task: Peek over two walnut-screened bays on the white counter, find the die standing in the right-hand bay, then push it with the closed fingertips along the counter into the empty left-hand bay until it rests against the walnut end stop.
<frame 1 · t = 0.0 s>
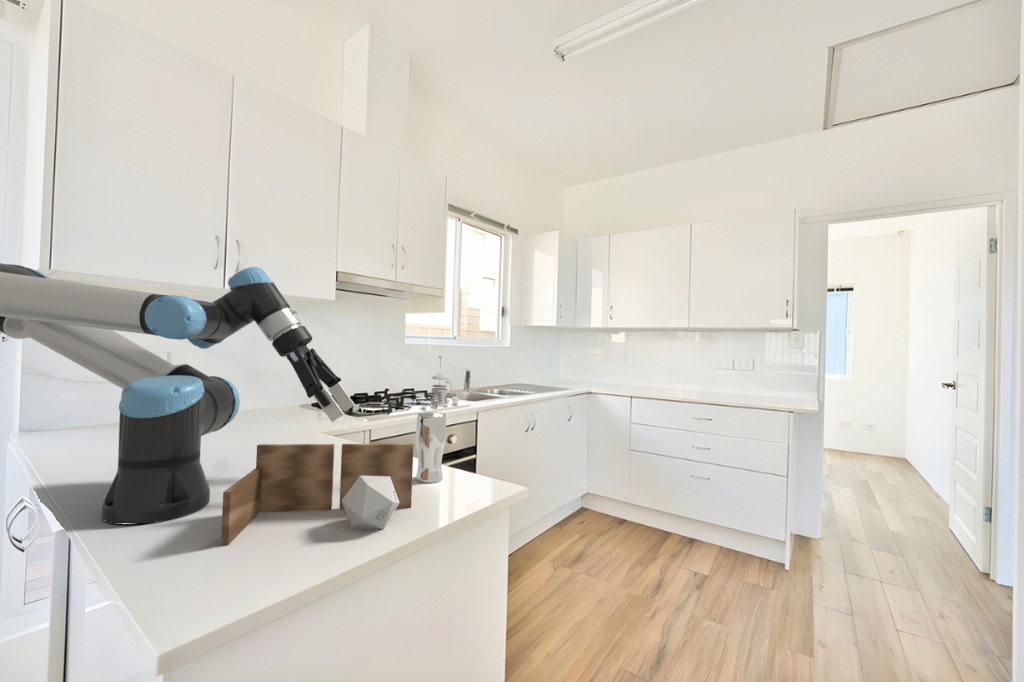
hand: (344, 413, 98), 15 cm above the counter, tool tilted 35°, fingers open, 13 cm apart
french press: (440, 405, 224), on the counter
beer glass: (429, 480, 102), on the counter
die: (370, 526, 76), on the counter
bay A: (293, 510, 81), on the counter
bay B: (376, 507, 84), on the counter
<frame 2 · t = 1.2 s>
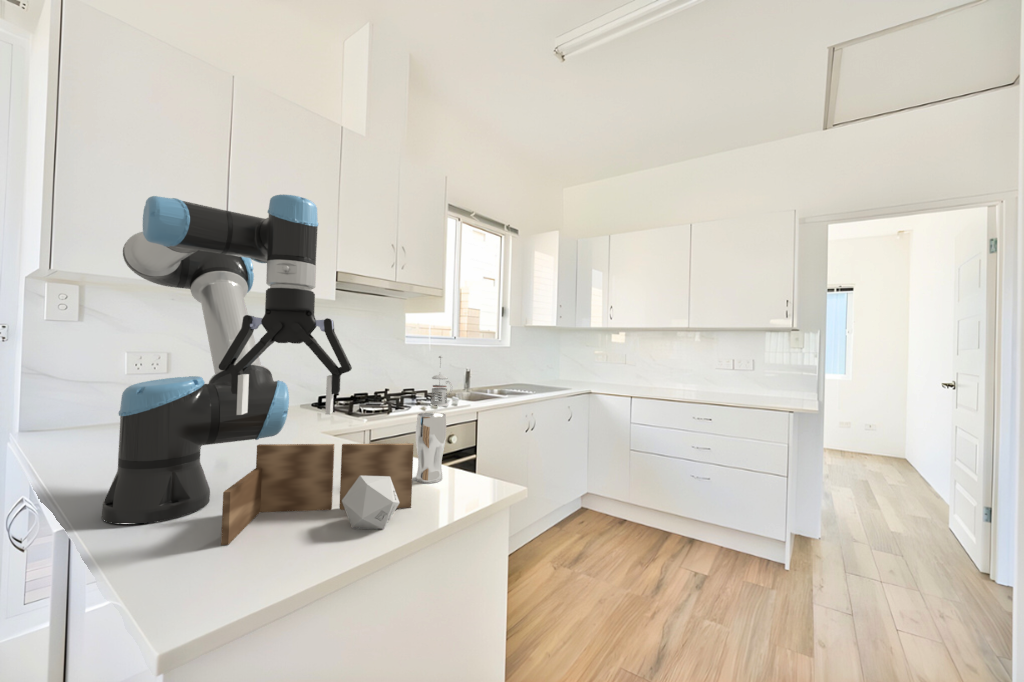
hand: (286, 413, 75), 19 cm above the counter, tool pointing down, fingers open, 13 cm apart
nothing on the counter moved.
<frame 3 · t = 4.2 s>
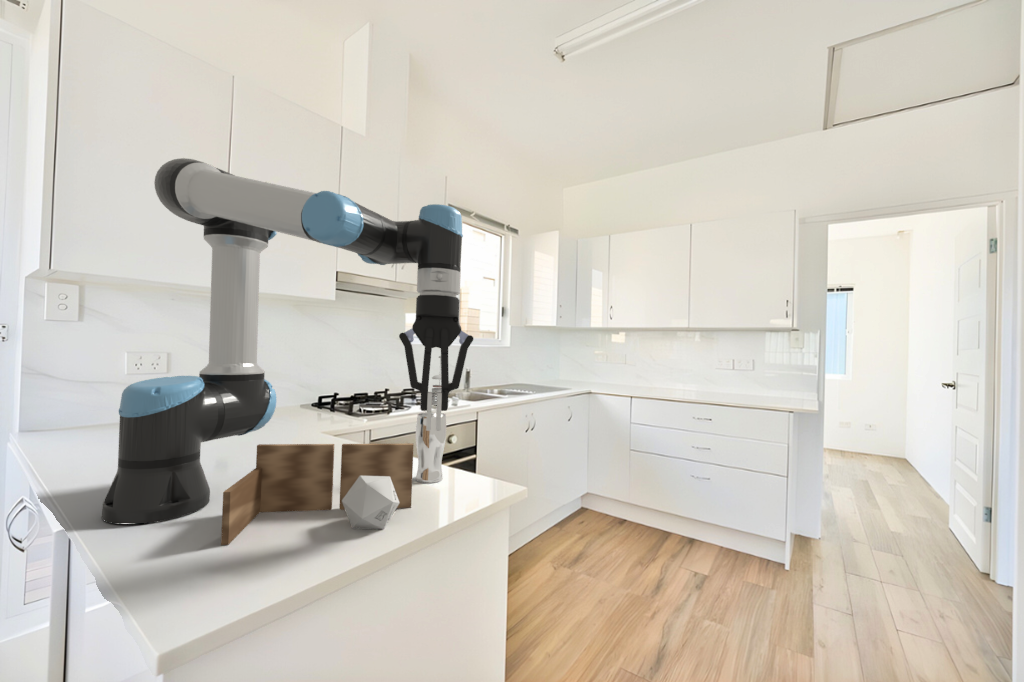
hand: (433, 429, 78), 16 cm above the counter, tool pointing down, fingers closed
nothing on the counter moved.
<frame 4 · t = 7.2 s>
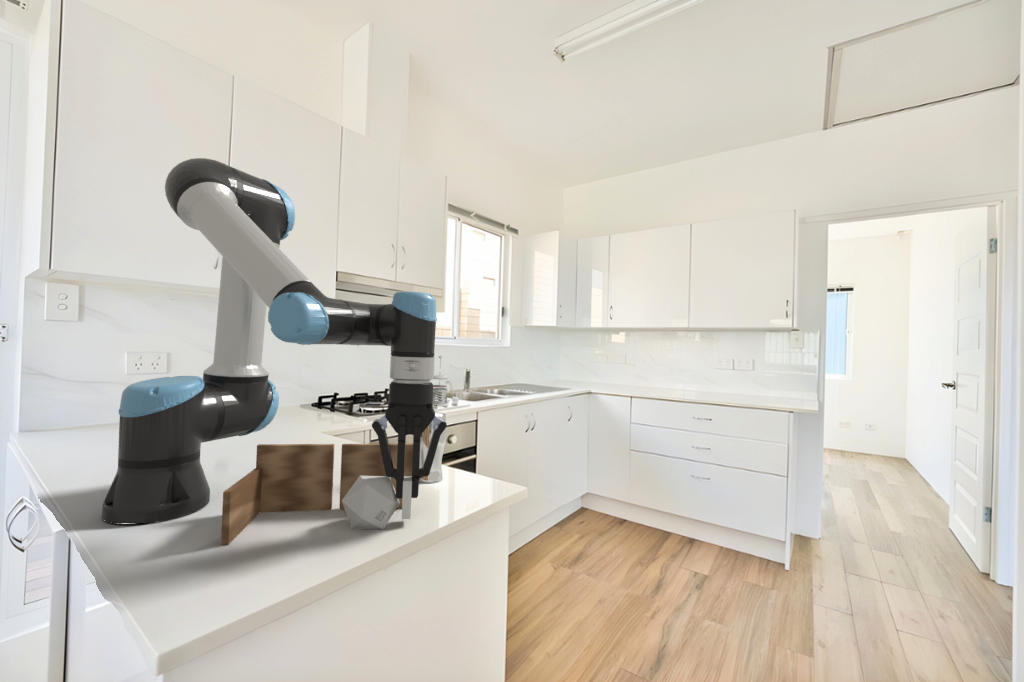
hand: (406, 516, 77), 1 cm above the counter, tool pointing down, fingers closed
die: (370, 526, 76), on the counter, touching gripper
everything else where it was.
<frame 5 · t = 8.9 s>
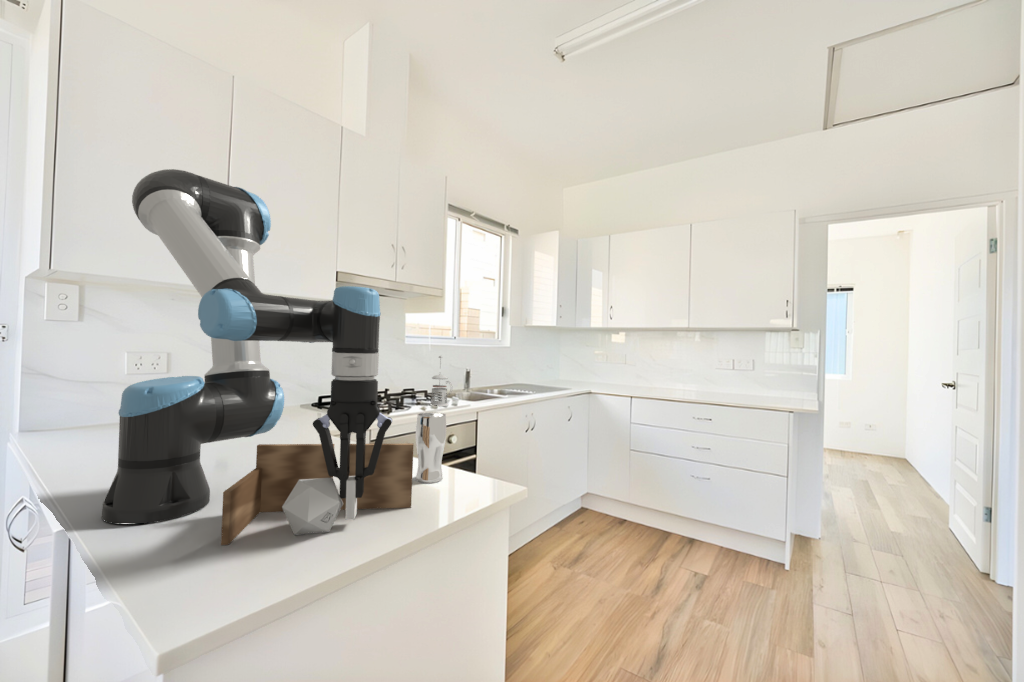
hand: (351, 516, 75), 2 cm above the counter, tool pointing down, fingers closed
die: (313, 530, 73), on the counter, touching gripper
everything else where it was.
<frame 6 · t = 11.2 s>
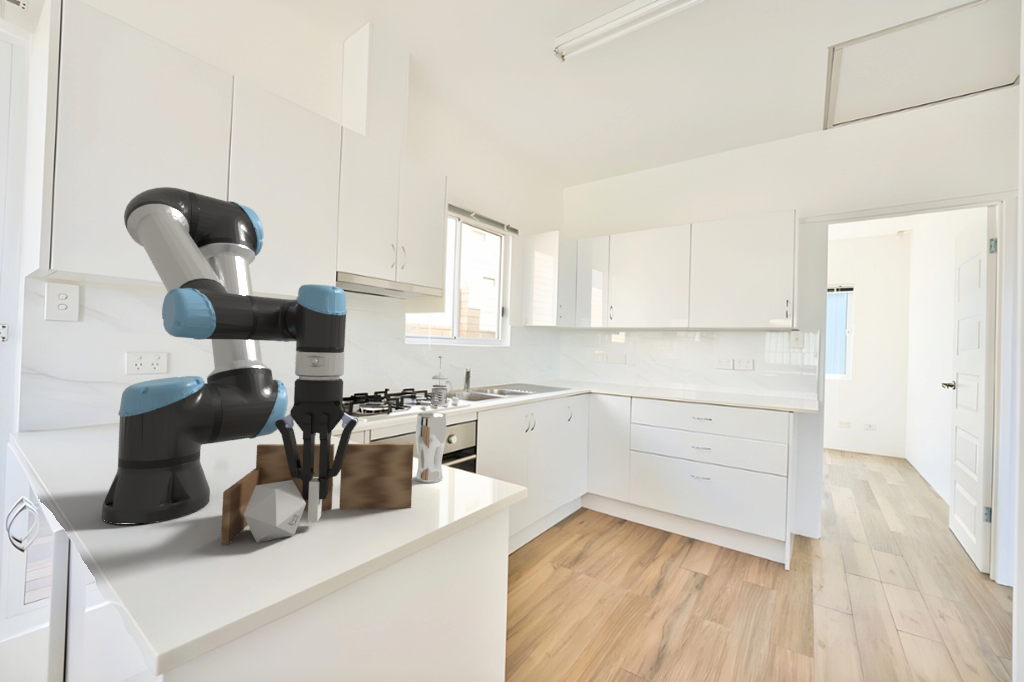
hand: (314, 518, 74), 2 cm above the counter, tool pointing down, fingers closed
die: (275, 536, 71), on the counter
everything else where it was.
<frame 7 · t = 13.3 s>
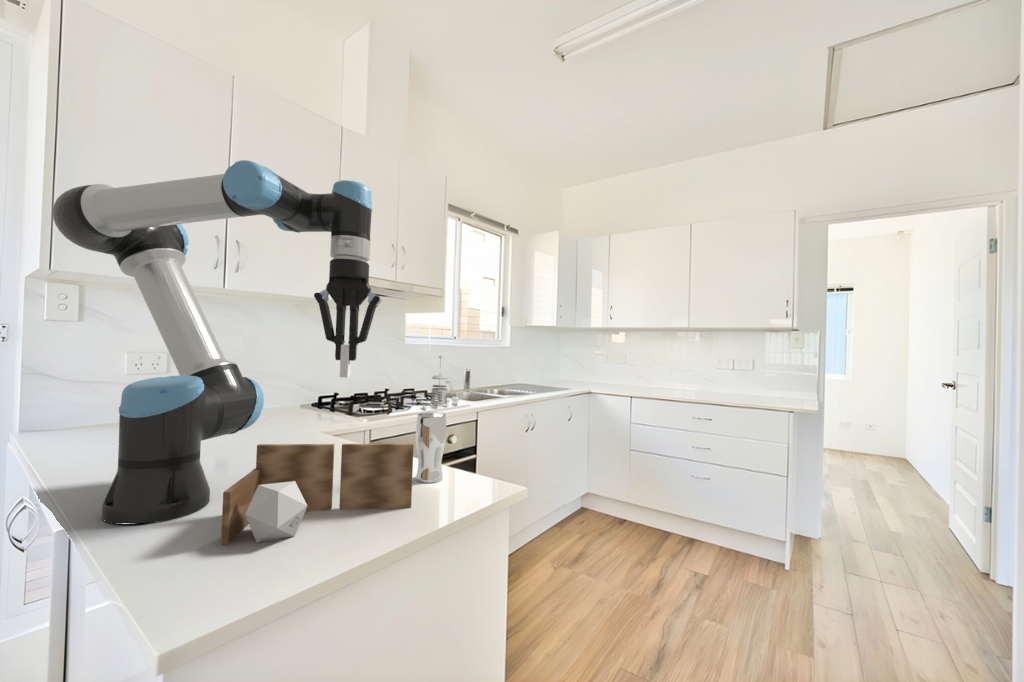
hand: (345, 376, 90), 24 cm above the counter, tool pointing down, fingers closed
nothing on the counter moved.
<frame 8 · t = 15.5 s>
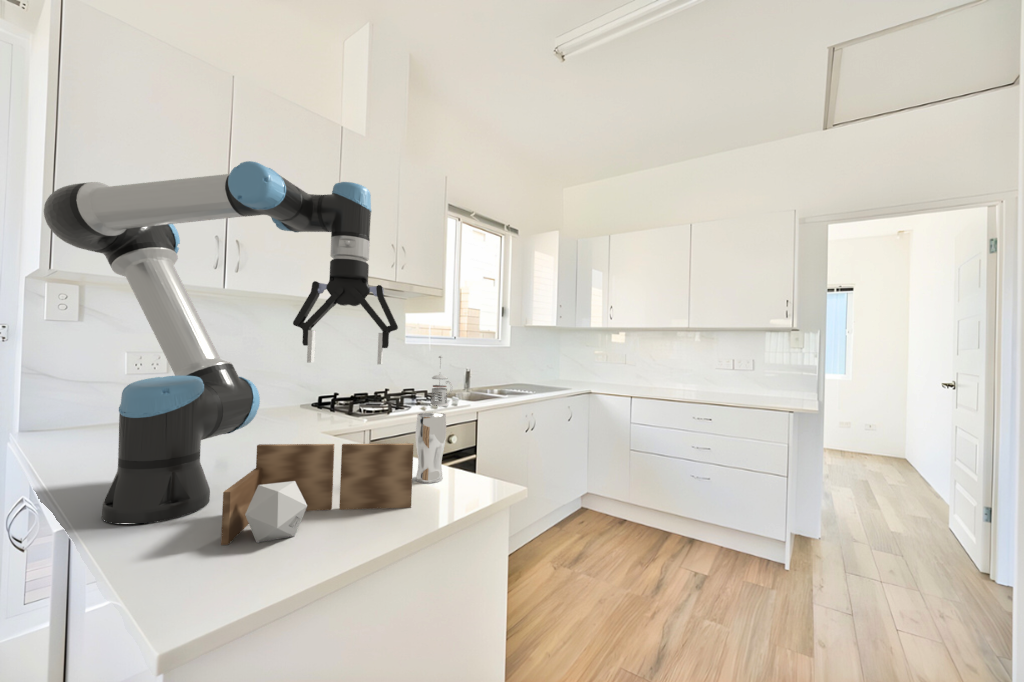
hand: (345, 363, 91), 27 cm above the counter, tool pointing down, fingers open, 13 cm apart
nothing on the counter moved.
at the end: die inside the target area (2.2 cm from its centre), on the counter; die tilted 0°; die moved 14.5 cm from its start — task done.
